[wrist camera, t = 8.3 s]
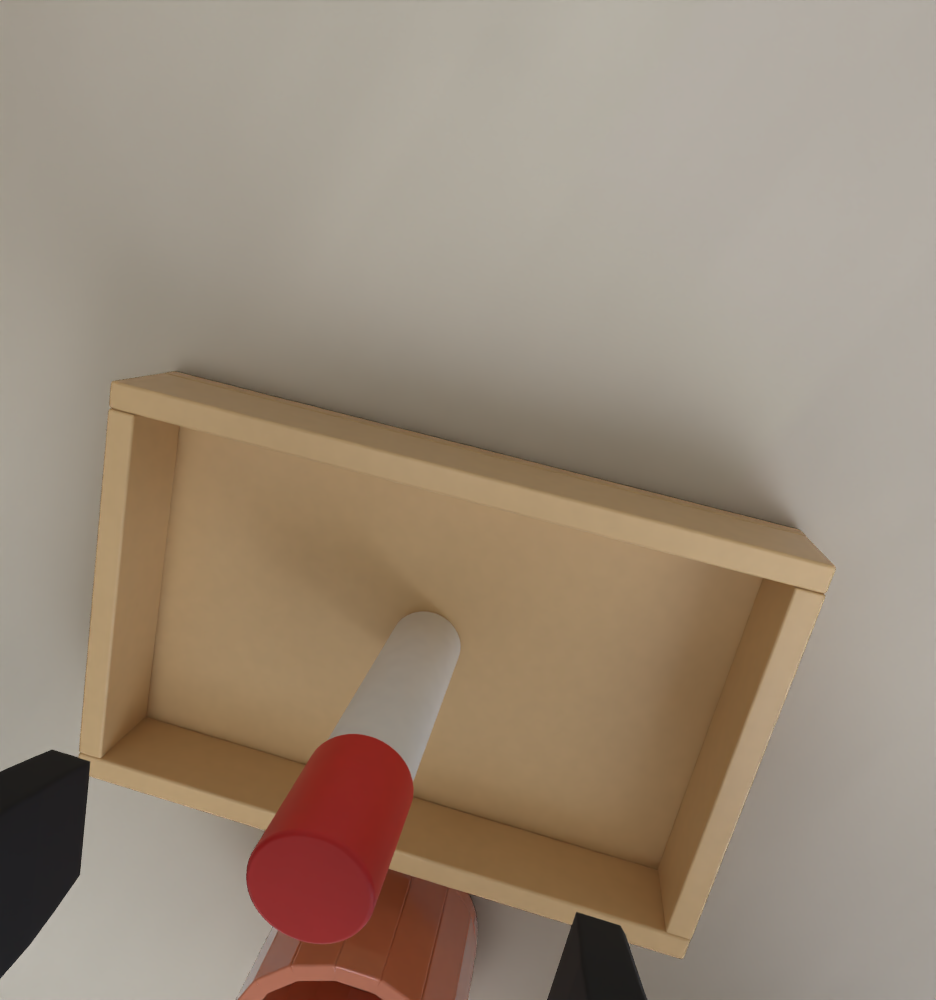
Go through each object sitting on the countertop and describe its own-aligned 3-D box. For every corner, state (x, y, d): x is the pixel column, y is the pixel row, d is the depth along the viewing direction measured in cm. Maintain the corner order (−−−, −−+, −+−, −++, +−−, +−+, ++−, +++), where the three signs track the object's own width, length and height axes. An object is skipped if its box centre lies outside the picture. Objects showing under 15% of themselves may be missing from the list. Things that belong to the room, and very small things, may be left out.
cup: (455, 1015, 21) (425, 1179, 17) (282, 959, 22) (213, 1105, 18) (497, 869, 20) (474, 1010, 16) (311, 811, 20) (243, 935, 16)
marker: (455, 687, 18) (361, 963, 11) (381, 666, 18) (236, 922, 11) (473, 617, 18) (386, 855, 10) (396, 597, 18) (254, 815, 10)
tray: (671, 880, 19) (683, 961, 17) (135, 719, 20) (75, 773, 18) (801, 529, 16) (838, 566, 14) (173, 370, 18) (109, 379, 15)
